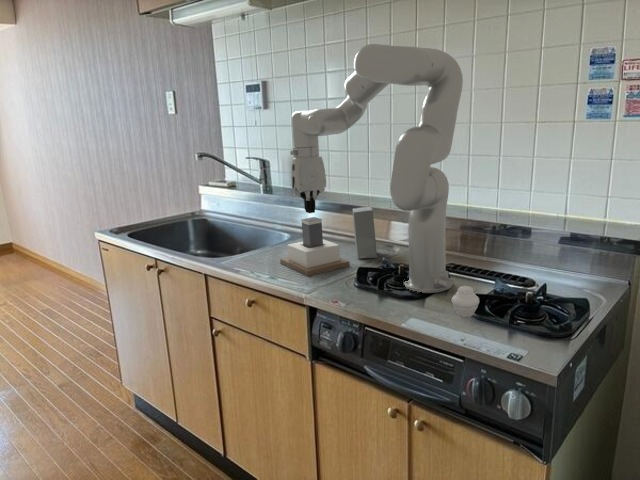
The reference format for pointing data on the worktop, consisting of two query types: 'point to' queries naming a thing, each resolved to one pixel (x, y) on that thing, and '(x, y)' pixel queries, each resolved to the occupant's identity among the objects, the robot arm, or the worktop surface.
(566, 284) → the worktop surface
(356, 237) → the skincare box
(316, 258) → the socket
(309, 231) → the plug
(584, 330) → the worktop surface
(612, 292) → the worktop surface
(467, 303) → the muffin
